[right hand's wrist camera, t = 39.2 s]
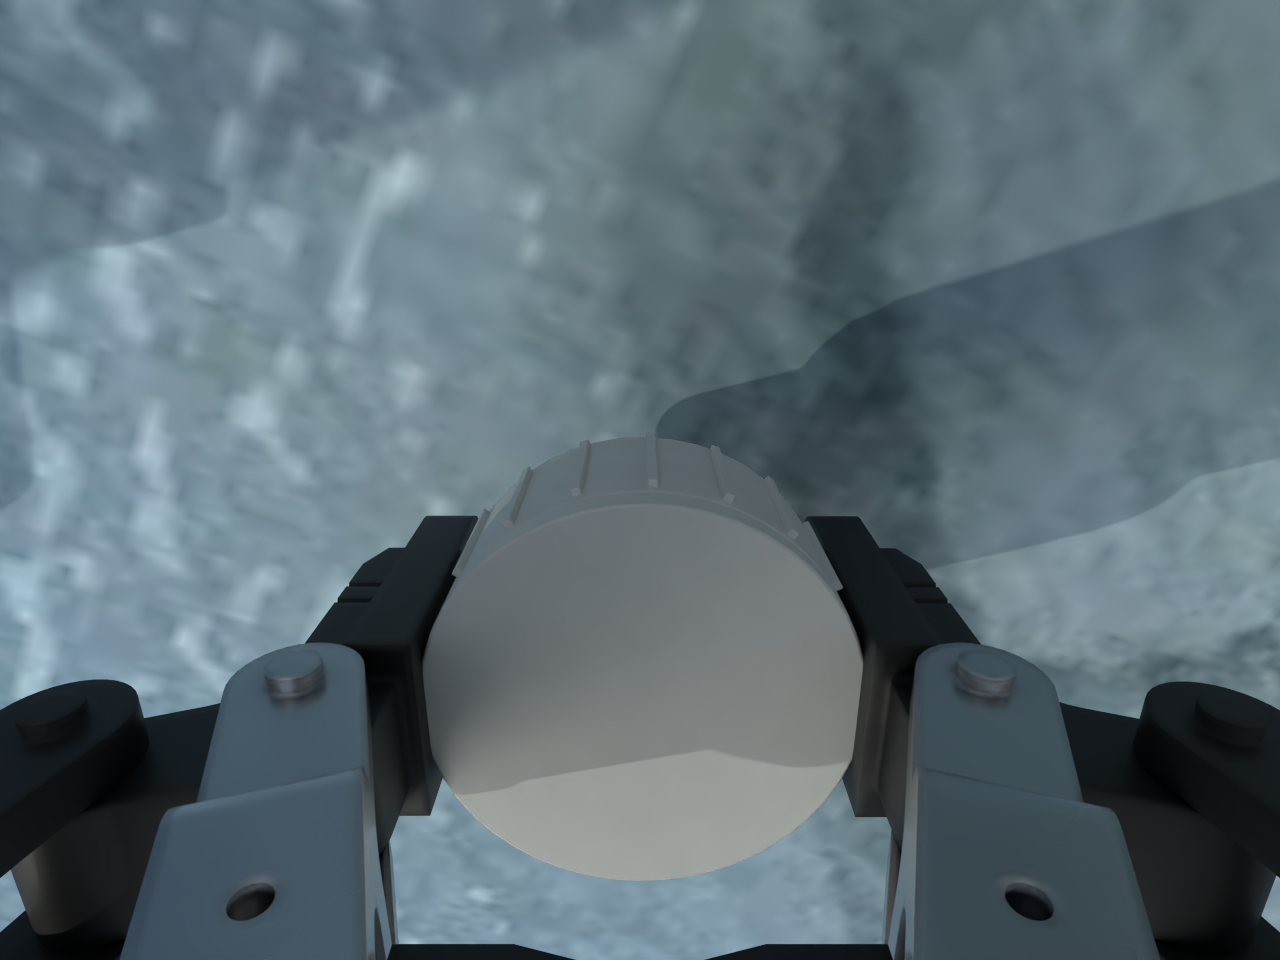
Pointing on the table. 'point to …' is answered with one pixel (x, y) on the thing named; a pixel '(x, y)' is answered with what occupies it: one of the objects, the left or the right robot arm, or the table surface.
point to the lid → (642, 664)
